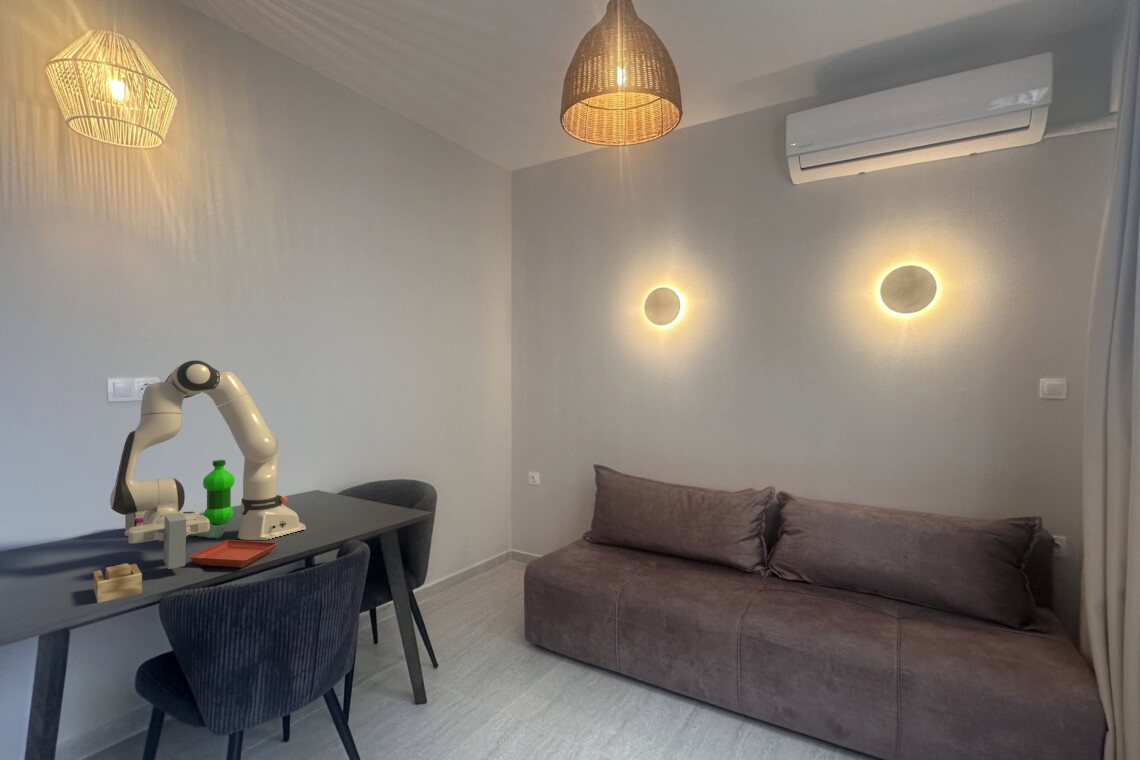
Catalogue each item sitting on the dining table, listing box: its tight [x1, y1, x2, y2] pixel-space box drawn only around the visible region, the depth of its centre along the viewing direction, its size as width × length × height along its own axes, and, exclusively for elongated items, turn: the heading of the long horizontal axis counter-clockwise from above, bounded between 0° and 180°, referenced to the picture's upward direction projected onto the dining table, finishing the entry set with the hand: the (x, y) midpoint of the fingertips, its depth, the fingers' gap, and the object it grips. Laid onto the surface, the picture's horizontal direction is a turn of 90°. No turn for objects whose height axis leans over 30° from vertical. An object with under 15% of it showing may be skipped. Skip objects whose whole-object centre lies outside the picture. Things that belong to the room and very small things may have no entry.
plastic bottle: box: [202, 459, 235, 525], centre depth 213 cm, size 10×10×25 cm
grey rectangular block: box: [162, 513, 187, 570], centre depth 159 cm, size 4×8×14 cm, turn 46°
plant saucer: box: [188, 539, 278, 568], centre depth 172 cm, size 18×18×3 cm
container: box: [188, 523, 225, 539], centre depth 197 cm, size 6×6×25 cm
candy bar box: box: [124, 511, 146, 532], centre depth 200 cm, size 11×5×16 cm, turn 168°
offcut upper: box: [105, 563, 131, 580], centre depth 144 cm, size 4×4×3 cm
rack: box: [93, 563, 143, 604], centre depth 145 cm, size 9×12×6 cm
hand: (174, 535), depth 159 cm, fingers closed on grey rectangular block, 4 cm apart
